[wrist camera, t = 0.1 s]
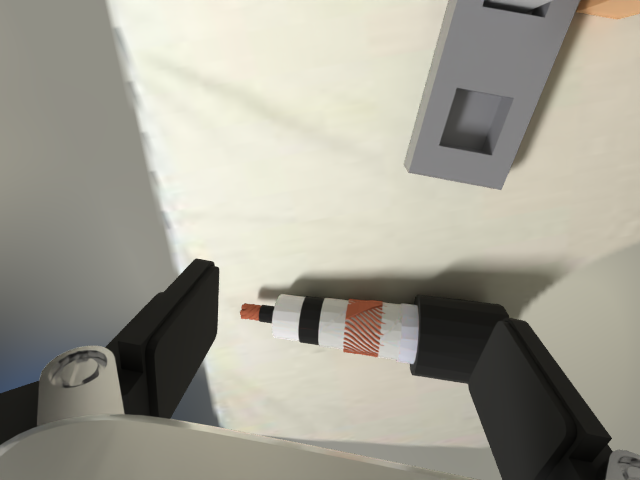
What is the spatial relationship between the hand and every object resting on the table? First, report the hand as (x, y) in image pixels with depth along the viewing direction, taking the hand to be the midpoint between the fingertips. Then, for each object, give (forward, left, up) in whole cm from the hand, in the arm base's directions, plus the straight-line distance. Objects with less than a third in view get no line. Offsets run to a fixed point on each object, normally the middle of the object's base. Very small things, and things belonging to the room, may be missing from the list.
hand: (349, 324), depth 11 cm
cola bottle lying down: (+21, +6, -32) cm, 39 cm away
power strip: (-12, +11, -31) cm, 35 cm away
